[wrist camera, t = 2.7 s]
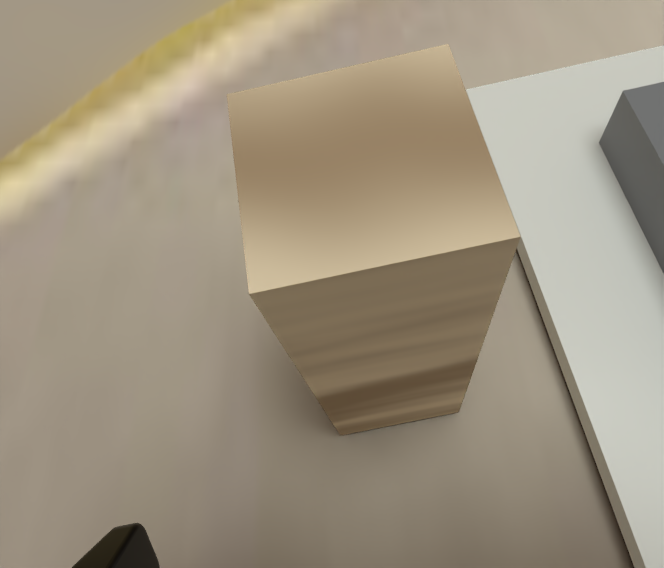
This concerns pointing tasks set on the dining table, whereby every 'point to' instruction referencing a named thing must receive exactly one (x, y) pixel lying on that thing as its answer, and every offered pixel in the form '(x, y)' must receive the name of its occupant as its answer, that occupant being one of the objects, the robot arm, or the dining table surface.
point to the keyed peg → (373, 232)
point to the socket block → (596, 256)
